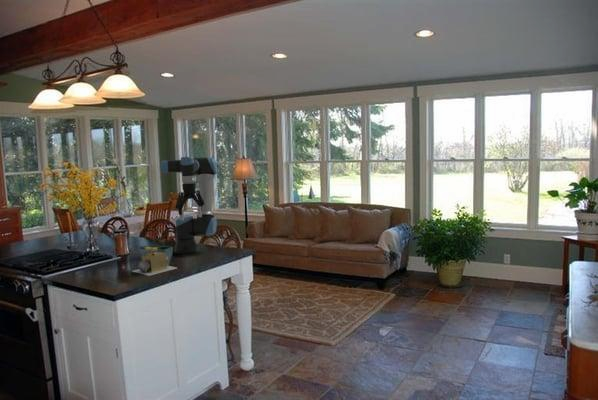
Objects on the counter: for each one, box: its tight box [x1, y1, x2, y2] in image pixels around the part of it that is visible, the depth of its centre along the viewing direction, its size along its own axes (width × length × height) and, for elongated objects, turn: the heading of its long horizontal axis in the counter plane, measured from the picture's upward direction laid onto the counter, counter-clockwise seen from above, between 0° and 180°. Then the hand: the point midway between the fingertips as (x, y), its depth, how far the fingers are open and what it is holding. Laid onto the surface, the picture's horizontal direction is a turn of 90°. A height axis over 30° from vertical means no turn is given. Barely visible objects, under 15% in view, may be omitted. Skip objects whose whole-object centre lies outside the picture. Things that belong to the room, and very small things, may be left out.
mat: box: [131, 265, 178, 277], centre depth 273 cm, size 18×19×1 cm
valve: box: [137, 251, 171, 273], centre depth 272 cm, size 9×18×11 cm, turn 140°
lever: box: [139, 245, 158, 253], centre depth 275 cm, size 14×4×1 cm, turn 50°
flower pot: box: [156, 245, 174, 260], centre depth 292 cm, size 9×9×9 cm
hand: (191, 218), depth 283 cm, fingers open, 13 cm apart
